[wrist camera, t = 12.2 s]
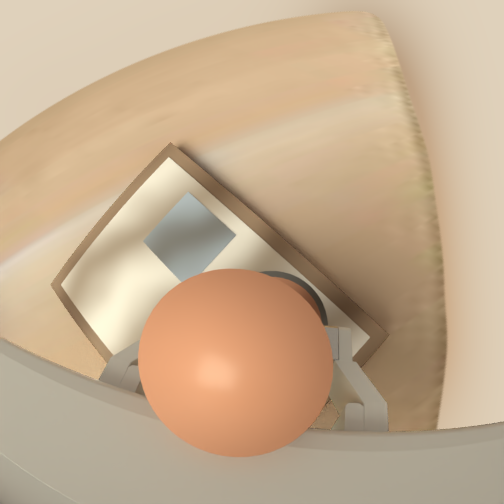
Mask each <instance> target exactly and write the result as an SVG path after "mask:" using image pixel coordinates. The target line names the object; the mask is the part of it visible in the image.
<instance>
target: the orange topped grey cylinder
mask: <svg viewBox="0 0 504 504" xmlns="http://www.w3.org/2000/svg"><path fill="white" fill-rule="evenodd" d="M138 367H139V374H140V380H141V383H142V387H143V390H144V393H145V395H146V398H147V400H148V402H149V404H150V405H151V407H152V409H153V411H154V412H155V413H156V415H157V416H158V417H159V419H160V420H161V421H162V422H163V423H164V424H165V426H166V427H167V428H168V429H169V430H171V431H172V432H173V433H174V434H175V435H176V436H178V437H179V438H181V439H182V440H184V441H185V442H187V443H188V444H190V445H192V446H194V447H196V448H198V449H201V450H203V451H206V452H209V453H212V454H217V455H221V456H229V457H250V456H257V455H262V454H266V453H269V452H272V451H275V450H277V449H280V448H282V447H284V446H286V445H287V444H289V443H291V442H293V441H294V440H295V439H297V438H298V437H299V436H301V435H302V434H303V433H304V432H305V431H306V430H307V429H308V428H309V427H310V426H311V425H312V424H313V423H314V421H315V420H316V418H317V417H318V416H319V414H320V413H321V411H322V409H323V407H324V405H325V403H326V401H327V398H328V395H329V392H330V388H331V384H332V379H333V356H332V349H331V345H330V341H329V338H328V335H327V332H326V330H325V327H324V325H323V324H322V322H321V320H320V318H319V316H318V315H317V313H316V312H315V311H314V309H313V308H312V307H311V305H310V304H309V303H308V302H307V301H306V300H305V299H304V298H303V297H302V296H301V295H300V294H299V293H297V292H296V291H295V290H294V289H292V288H291V287H290V286H288V285H286V284H285V283H283V282H281V281H280V280H278V279H275V278H273V277H271V276H268V275H266V274H263V273H259V272H256V271H251V270H245V269H218V270H212V271H208V272H204V273H200V274H198V275H195V276H193V277H190V278H188V279H187V280H185V281H183V282H181V283H179V284H178V285H177V286H175V287H174V288H173V289H171V290H170V291H169V292H168V293H167V294H166V295H165V296H164V297H163V298H162V299H161V300H160V301H159V302H158V303H157V305H156V306H155V307H154V309H153V310H152V312H151V314H150V315H149V317H148V319H147V321H146V324H145V326H144V328H143V331H142V335H141V339H140V343H139V351H138Z"/></svg>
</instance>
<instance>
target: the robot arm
mask: <svg viewBox="0 0 504 504" xmlns="http://www.w3.org/2000/svg"><path fill="white" fill-rule="evenodd" d="M324 327H325V330H326V332H327V335H328V338H329V341H330V345H331V349H332V356H333V379H332V384H331V388H330V392H329V397H330V399H331V400H332V402H333V404H334V406H335V408H336V410H337V412H338V413H339V415H340V416H339V417H338V419H337V420H336V422H335V424H334V425H333V427H332V428H331V430H328V429H316V428H308V429H307V430H306V431H305V432H304V433H303V434H302V435H301V436H299V437H298V438H297V439H295V440H294V441H293V442H291V443H289V444H287V445H286V446H284V447H282V448H280V449H277V450H275V451H272V452H269V453H266V454H262V455H257V456H250V457H229V456H221V455H217V454H212V453H209V452H206V451H203V450H201V449H198V448H196V447H194V446H192V445H190V444H188V443H187V442H185V441H184V440H182V439H181V438H179V437H178V436H176V435H175V434H174V433H173V432H172V431H171V430H169V429H168V428H167V427H166V426H165V424H164V423H163V422H162V421H161V420H160V419H159V417H158V416H157V415H156V413H155V412H154V411H153V409H152V407H151V405H150V404H149V402H148V400H147V398H146V395H145V393H144V390H143V387H142V383H141V380H140V374H139V367H138V351H139V343H140V340H138V341H137V342H135V343H133V344H132V345H130V346H128V347H127V348H125V349H123V350H122V351H120V352H119V353H117V354H115V355H114V356H112V357H111V358H110V360H109V361H108V363H107V365H106V367H105V369H104V370H103V372H102V374H101V376H100V378H99V380H96V379H94V378H91V377H88V376H86V375H83V374H81V373H78V372H76V371H73V370H71V369H68V368H66V367H63V366H61V365H59V364H56V363H54V362H52V361H50V360H47V359H45V358H43V357H41V356H39V355H37V354H34V353H32V352H30V351H28V350H26V349H24V348H22V347H20V346H18V345H16V344H14V343H12V342H10V341H8V340H7V339H4V338H0V504H504V422H498V423H492V424H485V425H478V426H471V427H462V428H452V429H440V430H425V431H394V432H389V430H388V408H387V403H386V401H385V400H384V399H383V397H382V396H381V394H380V393H379V392H378V390H377V389H376V388H375V386H374V385H373V384H372V382H371V381H370V380H369V378H368V377H367V376H366V374H365V373H364V372H363V370H362V369H361V368H360V366H359V365H358V364H357V362H353V359H352V335H351V329H350V328H345V327H336V326H326V325H324Z"/></svg>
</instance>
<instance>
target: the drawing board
mask: <svg viewBox="0 0 504 504" xmlns="http://www.w3.org/2000/svg"><path fill="white" fill-rule="evenodd" d="M218 269H245V270H251V271H256V272H259V273H263V274H266V275H268V276H271V277H273V278H275V279H278V280H280V281H281V282H283V283H285V284H286V285H288V286H290V287H291V288H292V289H294V290H295V291H296V292H297V293H299V294H300V295H301V296H302V297H303V298H304V299H305V300H306V301H307V302H308V303H309V304H310V305H311V307H312V308H313V309H314V311H315V312H316V313H317V315H318V316H319V318H320V320H321V322H322V324H323V325H326V326H336V327H345V328H350V329H351V335H352V359H353V362H357V364H358V365H359V366H360V368H361V367H362V366H363V365H364V364H365V363H366V361H367V360H368V359H369V358H370V357H371V356H372V355H373V354H374V352H375V351H376V350H377V349H378V348H379V347H380V345H381V344H382V343H383V342H384V341H385V339H386V338H387V337H388V336H389V334H388V333H387V332H386V331H384V330H383V329H382V328H381V327H380V326H379V325H378V324H377V323H376V322H375V321H374V320H373V319H372V318H371V317H370V316H368V315H367V314H366V313H365V312H364V311H363V310H362V309H361V308H360V307H359V306H358V305H357V304H356V303H354V302H353V301H352V300H351V299H350V298H349V297H348V296H347V295H346V294H345V293H344V292H342V291H341V290H340V289H339V288H338V287H337V286H336V285H335V284H334V283H333V282H331V281H330V280H329V279H328V278H327V277H326V276H325V275H324V274H323V273H322V272H320V271H319V270H318V269H317V268H316V267H315V266H314V265H313V264H312V263H310V262H309V261H308V260H307V259H306V258H305V257H304V256H303V255H301V254H300V253H299V252H298V251H297V250H296V249H295V248H294V247H292V246H291V245H290V244H289V243H288V242H287V241H286V240H285V239H283V238H282V237H281V236H280V235H279V234H278V233H277V232H275V231H274V230H273V229H272V228H271V227H270V226H269V225H267V224H266V223H265V222H264V221H263V220H262V219H261V218H259V217H258V216H257V215H256V214H255V213H254V212H252V211H251V210H250V209H249V208H248V207H247V206H246V205H244V204H243V203H242V202H241V201H240V200H239V199H237V198H236V197H235V196H234V195H233V194H232V193H230V192H229V191H228V190H227V189H226V188H225V187H223V186H222V185H221V184H220V183H219V182H217V181H216V180H215V179H214V178H213V177H212V176H210V175H209V174H208V173H207V172H206V171H204V170H203V169H202V168H201V167H200V166H198V165H197V164H196V163H195V162H194V161H192V160H191V159H190V158H189V157H188V156H186V155H185V154H184V153H183V152H182V151H180V150H179V149H178V148H177V147H176V146H174V145H173V144H172V143H171V142H170V143H169V144H168V145H167V146H166V147H165V148H164V149H163V150H162V151H161V152H160V153H159V154H158V155H157V156H156V158H155V159H154V160H153V161H152V162H151V163H150V164H149V165H148V166H147V167H146V168H145V169H144V170H143V171H142V172H141V173H140V174H139V175H138V176H137V178H136V179H135V180H134V181H133V182H132V183H131V184H130V185H129V186H128V187H127V189H126V190H125V191H124V192H123V193H122V194H121V195H120V196H119V198H118V199H117V200H116V201H115V202H114V203H113V205H112V206H111V207H110V208H109V209H108V210H107V212H106V213H105V214H104V215H103V216H102V218H101V219H100V220H99V221H98V222H97V224H96V225H95V226H94V227H93V229H92V230H91V231H90V232H89V234H88V235H87V236H86V237H85V239H84V240H83V241H82V243H81V244H80V245H79V246H78V248H77V249H76V250H75V252H74V253H73V254H72V256H71V257H70V258H69V260H68V261H67V262H66V264H65V265H64V266H63V268H62V269H61V271H60V272H59V273H58V275H57V276H56V278H55V279H54V280H53V282H52V283H51V286H52V288H53V290H54V291H55V293H56V294H57V296H58V297H59V299H60V300H61V302H62V303H63V305H64V306H65V308H66V309H67V311H68V312H69V313H70V315H71V316H72V318H73V319H74V320H75V322H76V323H77V325H78V326H79V327H80V329H81V330H82V331H83V333H84V334H85V336H86V337H87V338H88V339H89V341H90V342H91V343H92V345H93V346H94V347H95V349H96V350H97V351H98V352H99V354H100V355H101V356H102V357H103V359H104V360H105V361H106V362H107V363H108V361H109V360H110V358H111V357H112V356H114V355H115V354H117V353H119V352H120V351H122V350H123V349H125V348H127V347H128V346H130V345H132V344H133V343H135V342H137V341H138V340H140V339H141V335H142V331H143V328H144V326H145V324H146V321H147V319H148V317H149V315H150V314H151V312H152V310H153V309H154V307H155V306H156V305H157V303H158V302H159V301H160V300H161V299H162V298H163V297H164V296H165V295H166V294H167V293H168V292H169V291H170V290H171V289H173V288H174V287H175V286H177V285H178V284H179V283H181V282H183V281H185V280H187V279H188V278H190V277H193V276H195V275H198V274H200V273H204V272H208V271H212V270H218ZM329 400H330V397H329V395H328V398H327V401H326V403H327V402H328V401H329ZM326 403H325V404H326Z"/></svg>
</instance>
